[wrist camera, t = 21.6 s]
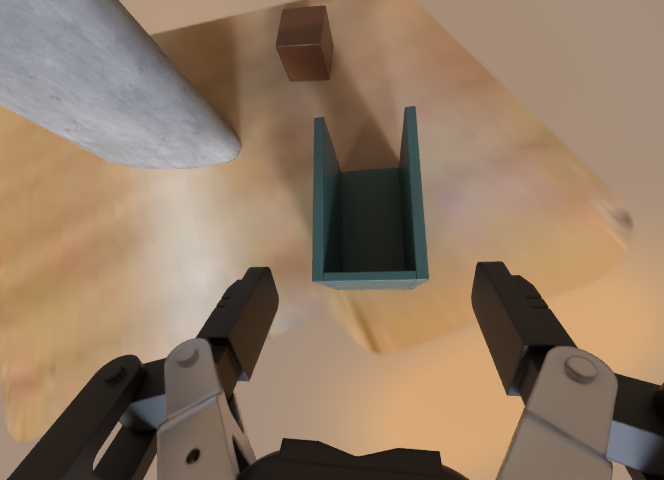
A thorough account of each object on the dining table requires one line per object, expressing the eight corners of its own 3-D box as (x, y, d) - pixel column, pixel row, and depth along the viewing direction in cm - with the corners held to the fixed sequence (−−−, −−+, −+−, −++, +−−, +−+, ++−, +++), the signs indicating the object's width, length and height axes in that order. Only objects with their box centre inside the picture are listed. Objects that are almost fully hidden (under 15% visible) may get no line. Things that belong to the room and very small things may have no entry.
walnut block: (320, 43, 24) (325, 4, 24) (275, 46, 24) (282, 9, 25) (329, 80, 27) (333, 45, 28) (290, 81, 28) (295, 48, 29)
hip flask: (243, 133, 28) (-72, -251, 9) (236, 171, 27) (-130, -160, 8) (109, 136, 31) (-343, -141, 12) (99, 170, 30) (-405, -67, 11)
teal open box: (413, 288, 22) (429, 280, 14) (336, 289, 23) (311, 281, 15) (405, 169, 24) (415, 105, 16) (335, 175, 25) (314, 117, 17)
